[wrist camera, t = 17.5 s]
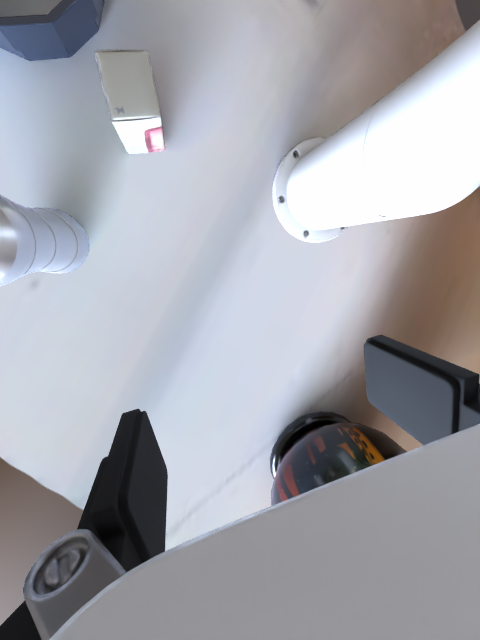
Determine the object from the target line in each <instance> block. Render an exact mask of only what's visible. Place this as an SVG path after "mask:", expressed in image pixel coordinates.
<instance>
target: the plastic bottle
mask: <svg viewBox="0 0 480 640" xmlns="http://www.w3.org/2000/svg"><path fill="white" fill-rule="evenodd" d="M88 253H89V240H88V237H87V234H86V232H85V231H84V229H83V228H82V226H81V225H80V224H79V223H78V222H77V221H76V220H74V219H73V218H72V217H71V216H69V215H68V214H66V213H64V212H62V211H60V210H57V209H53V208H38V207H37V208H27V207H24V206H21V205H19V204H16V203H14V202H12V201H10V200H9V199H7V198H5V197H3V196H1V195H0V286H2V285H5V284H8V283H10V282H13V281H15V280H17V279H19V278H21V277H23V276H25V275H27V274H29V273H33V272H36V271H43V272H49V273H67V272H71V271H73V270H75V269H77V268H78V267H79V266H81V265H82V264H83V263H84V261H85V260H86V258H87V256H88Z"/></svg>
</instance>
